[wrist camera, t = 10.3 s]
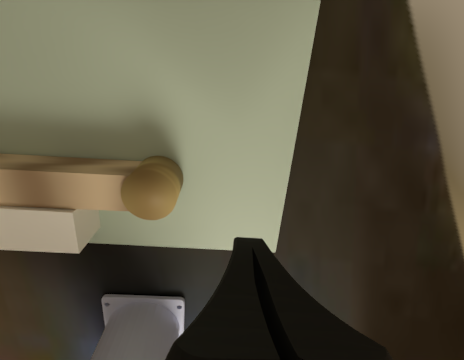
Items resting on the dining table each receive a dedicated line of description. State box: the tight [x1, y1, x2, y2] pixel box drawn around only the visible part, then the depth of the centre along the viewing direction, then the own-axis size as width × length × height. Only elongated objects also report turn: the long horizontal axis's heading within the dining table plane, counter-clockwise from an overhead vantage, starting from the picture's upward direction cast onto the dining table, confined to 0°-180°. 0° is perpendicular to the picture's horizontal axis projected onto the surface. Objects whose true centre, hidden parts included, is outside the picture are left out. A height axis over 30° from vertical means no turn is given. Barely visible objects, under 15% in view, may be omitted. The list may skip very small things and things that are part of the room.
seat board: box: [0, 0, 320, 252], centre depth 19 cm, size 19×24×1 cm
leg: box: [0, 153, 183, 220], centre depth 18 cm, size 15×4×3 cm, turn 86°
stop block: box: [0, 206, 101, 254], centre depth 19 cm, size 3×7×4 cm, turn 85°
